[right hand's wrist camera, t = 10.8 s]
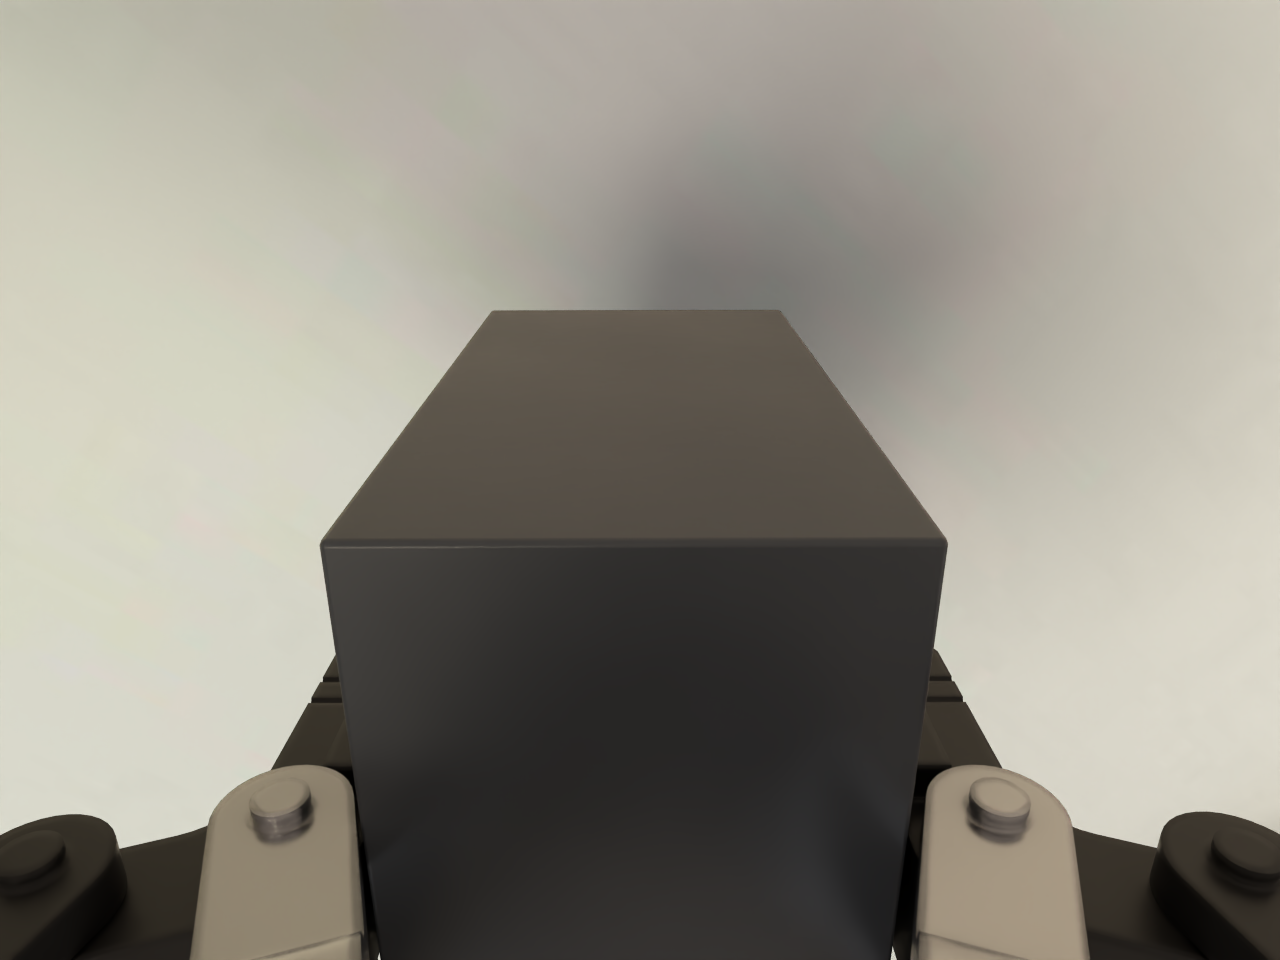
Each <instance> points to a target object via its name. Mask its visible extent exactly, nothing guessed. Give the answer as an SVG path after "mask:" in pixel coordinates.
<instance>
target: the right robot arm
mask: <svg viewBox="0 0 1280 960" xmlns="http://www.w3.org/2000/svg"><path fill="white" fill-rule="evenodd" d="M893 949H894V952H895V955H896V959H897V960H1280V834H1278V833H1276V832H1274V831H1272V830H1270V829H1268V828H1266V827H1264V826H1262V825H1259V824H1257V823H1254V822H1252V821H1249V820H1246V819H1242V818H1239V817H1236V816H1232V815H1227V814H1222V813H1214V812H1191V813H1185V814H1182V815H1179V816H1176V817H1174V818H1173V819H1171V820H1169V821H1168V823H1167V824H1166V825H1165V826H1164V828H1163V830H1162V832H1161V836H1160V840H1159V843H1158V847H1157V848H1154V847H1150V846H1145V845H1141V844H1137V843H1132V842H1128V841H1123V840H1119V839H1115V838H1110V837H1106V836H1102V835H1097V834H1093V833H1090V832H1086V831H1082V830H1079V829H1077V828H1074V827H1072V823H1071V819H1070V817H1069V815H1068V813H1067V811H1066V809H1065V808H1064V806H1063V805H1062V804H1061V803H1060V801H1059V800H1058V799H1057V798H1056V797H1055V796H1054V795H1053V794H1052V793H1050V792H1049V791H1048V790H1047V789H1045V788H1044V787H1043V786H1041V785H1039V784H1038V783H1036V782H1034V781H1033V780H1031V779H1029V778H1027V777H1025V776H1023V775H1020V774H1018V773H1015V772H1012V771H1009V770H1006V769H1002V767H1001V765H1000V763H999V761H998V759H997V758H996V756H995V754H994V752H993V750H992V749H991V747H990V745H989V743H988V741H987V740H986V738H985V736H984V734H983V732H982V731H981V729H980V727H979V725H978V723H977V722H976V720H975V718H974V716H973V714H972V713H971V711H970V709H969V707H968V705H967V704H966V702H963V696H962V695H961V693H960V691H959V689H958V687H957V685H956V684H955V682H954V681H952V680H951V675H950V673H949V671H948V669H947V667H946V666H945V664H944V662H943V660H942V658H941V657H940V655H939V653H938V651H936V650H935V649H934V648H933V656H932V663H931V670H930V677H929V685H928V692H927V699H926V706H925V714H924V721H923V728H922V735H921V743H920V750H919V757H918V764H917V772H916V779H915V786H914V793H913V801H912V808H911V815H910V822H909V830H908V837H907V844H906V851H905V859H904V866H903V873H902V880H901V888H900V895H899V902H898V909H897V917H896V924H895V931H894V938H893ZM378 956H379V945H378V938H377V931H376V924H375V918H374V911H373V904H372V897H371V890H370V884H369V877H368V870H367V863H366V856H365V850H364V843H363V836H362V829H361V822H360V816H359V809H358V802H357V795H356V788H355V782H354V775H353V768H352V761H351V754H350V748H349V741H348V734H347V727H346V720H345V714H344V707H343V700H342V693H341V686H340V680H339V673H338V666H337V659H336V655H335V657H334V659H333V660H332V662H331V664H330V666H329V668H328V669H327V671H326V673H325V675H324V676H323V682H320V684H319V685H318V687H317V689H316V691H315V692H314V694H313V696H312V701H311V703H308V705H307V707H306V708H305V710H304V712H303V714H302V716H301V717H300V719H299V721H298V723H297V725H296V726H295V728H294V730H293V732H292V733H291V735H290V737H289V739H288V741H287V742H286V744H285V746H284V748H283V749H282V751H281V753H280V755H279V757H278V758H277V760H276V762H275V764H274V765H273V767H272V769H271V771H268V772H265V773H262V774H260V775H257V776H255V777H253V778H251V779H249V780H247V781H246V782H244V783H242V784H241V785H239V786H237V787H236V788H235V789H233V790H232V791H231V792H229V793H228V794H227V795H226V796H225V797H224V798H223V799H222V800H221V801H220V802H219V804H218V805H217V806H216V808H215V809H214V811H213V813H212V815H211V817H210V819H209V823H208V826H206V827H203V828H200V829H198V830H195V831H192V832H189V833H185V834H182V835H178V836H174V837H169V838H165V839H161V840H156V841H152V842H148V843H143V844H139V845H135V846H130V847H126V848H121V849H119V846H118V842H117V839H116V835H115V833H114V831H113V829H112V827H111V826H110V825H109V824H108V823H106V822H105V821H103V820H101V819H99V818H96V817H93V816H88V815H81V814H68V815H59V816H53V817H48V818H44V819H40V820H37V821H33V822H30V823H27V824H24V825H22V826H19V827H17V828H14V829H12V830H10V831H8V832H6V833H4V834H2V835H0V960H378Z"/></svg>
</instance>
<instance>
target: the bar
mask: <svg viewBox="0 0 1280 960" xmlns="http://www.w3.org/2000/svg"><path fill="white" fill-rule="evenodd" d="M947 547H948V543H947V540H946V538H945V536H944V535H943V534H942V532H941V531H940V530H939V528H938V527H937V525H936V524H935V523H934V521H933V520H932V519H931V517H930V516H929V514H928V513H927V512H926V510H925V509H924V508H923V506H922V505H921V503H920V502H919V501H918V499H917V498H916V497H915V495H914V494H913V492H912V491H911V490H910V488H909V487H908V486H907V484H906V483H905V481H904V480H903V479H902V477H901V476H900V475H899V473H898V472H897V470H896V469H895V468H894V466H893V465H892V464H891V462H890V461H889V459H888V458H887V457H886V455H885V454H884V453H883V451H882V450H881V448H880V447H879V446H878V444H877V443H876V442H875V440H874V439H873V437H872V436H871V435H870V433H869V432H868V431H867V429H866V428H865V426H864V425H863V424H862V422H861V421H860V420H859V418H858V417H857V415H856V414H855V413H854V411H853V410H852V409H851V407H850V406H849V404H848V403H847V402H846V400H845V399H844V398H843V396H842V395H841V393H840V392H839V391H838V389H837V388H836V387H835V385H834V384H833V382H832V381H831V380H830V378H829V377H828V376H827V374H826V373H825V371H824V370H823V369H822V367H821V366H820V365H819V363H818V362H817V360H816V359H815V358H814V356H813V355H812V354H811V352H810V351H809V349H808V348H807V347H806V345H805V344H804V343H803V341H802V340H801V338H800V337H799V336H798V334H797V333H796V332H795V330H794V329H793V327H792V326H791V325H790V323H789V322H788V321H787V319H786V318H785V317H784V315H783V314H782V312H781V311H779V310H521V311H492V312H491V313H490V314H489V316H488V317H487V318H486V320H485V321H484V322H483V324H482V325H481V326H480V328H479V329H478V330H477V332H476V333H475V335H474V336H473V337H472V339H471V340H470V341H469V343H468V344H467V345H466V347H465V348H464V349H463V351H462V352H461V353H460V355H459V356H458V357H457V359H456V360H455V361H454V363H453V364H452V365H451V367H450V368H449V369H448V371H447V372H446V373H445V375H444V376H443V378H442V379H441V380H440V382H439V383H438V384H437V386H436V387H435V388H434V390H433V391H432V392H431V394H430V395H429V396H428V398H427V399H426V400H425V402H424V403H423V404H422V406H421V407H420V408H419V410H418V411H417V412H416V414H415V415H414V416H413V418H412V419H411V421H410V422H409V423H408V425H407V426H406V427H405V429H404V430H403V431H402V433H401V434H400V435H399V437H398V438H397V439H396V441H395V442H394V443H393V445H392V446H391V447H390V449H389V450H388V451H387V453H386V454H385V455H384V457H383V458H382V459H381V461H380V462H379V464H378V465H377V466H376V468H375V469H374V470H373V472H372V473H371V474H370V476H369V477H368V478H367V480H366V481H365V482H364V484H363V485H362V486H361V488H360V489H359V490H358V492H357V493H356V494H355V496H354V497H353V498H352V500H351V501H350V502H349V504H348V505H347V507H346V508H345V509H344V511H343V512H342V513H341V515H340V516H339V517H338V519H337V520H336V521H335V523H334V524H333V525H332V527H331V528H330V529H329V531H328V532H327V533H326V535H325V536H324V537H323V539H322V540H321V543H320V550H321V557H322V564H323V571H324V578H325V584H326V591H327V598H328V605H329V612H330V618H331V625H332V632H333V639H334V646H335V652H336V659H337V666H338V673H339V680H340V686H341V693H342V700H343V707H344V714H345V720H346V727H347V734H348V741H349V748H350V754H351V761H352V768H353V775H354V782H355V788H356V795H357V802H358V809H359V816H360V822H361V829H362V836H363V843H364V850H365V856H366V863H367V870H368V877H369V884H370V890H371V897H372V904H373V911H374V918H375V924H376V931H377V938H378V945H379V952H380V958H381V960H891V953H892V946H893V938H894V931H895V924H896V917H897V909H898V902H899V895H900V888H901V880H902V873H903V866H904V859H905V851H906V844H907V837H908V830H909V822H910V815H911V808H912V801H913V793H914V786H915V779H916V772H917V764H918V757H919V750H920V743H921V735H922V728H923V721H924V714H925V706H926V699H927V692H928V685H929V677H930V670H931V663H932V656H933V648H934V641H935V634H936V627H937V619H938V612H939V605H940V598H941V590H942V583H943V576H944V569H945V561H946V554H947Z"/></svg>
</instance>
